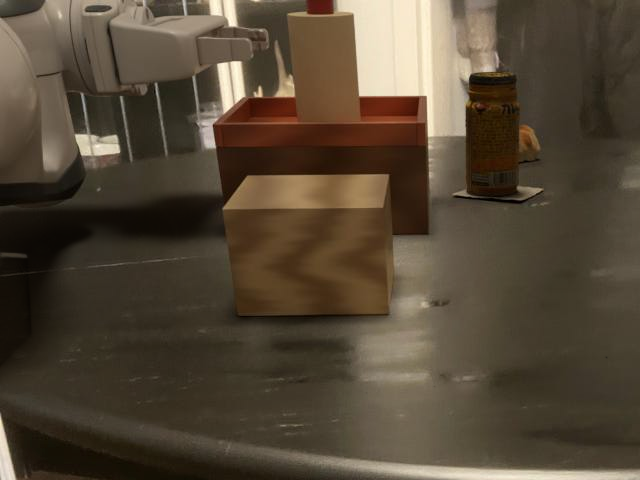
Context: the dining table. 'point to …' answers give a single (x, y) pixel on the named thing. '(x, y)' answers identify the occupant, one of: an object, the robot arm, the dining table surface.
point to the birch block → (311, 244)
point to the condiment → (493, 138)
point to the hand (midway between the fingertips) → (260, 44)
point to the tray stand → (332, 148)
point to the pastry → (527, 144)
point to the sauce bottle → (324, 63)
